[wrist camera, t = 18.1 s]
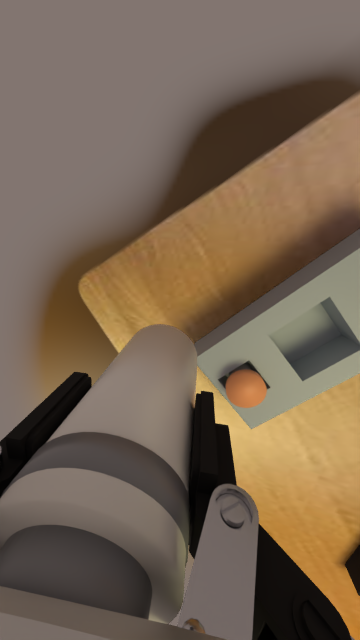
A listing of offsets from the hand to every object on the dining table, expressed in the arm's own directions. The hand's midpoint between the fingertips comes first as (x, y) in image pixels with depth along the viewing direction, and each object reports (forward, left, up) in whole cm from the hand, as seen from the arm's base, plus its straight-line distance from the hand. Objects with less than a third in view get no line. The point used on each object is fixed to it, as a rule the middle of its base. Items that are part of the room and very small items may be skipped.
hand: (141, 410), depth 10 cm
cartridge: (0, 0, -5) cm, 5 cm away
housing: (-10, +11, -20) cm, 25 cm away
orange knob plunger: (-1, +11, -18) cm, 22 cm away
